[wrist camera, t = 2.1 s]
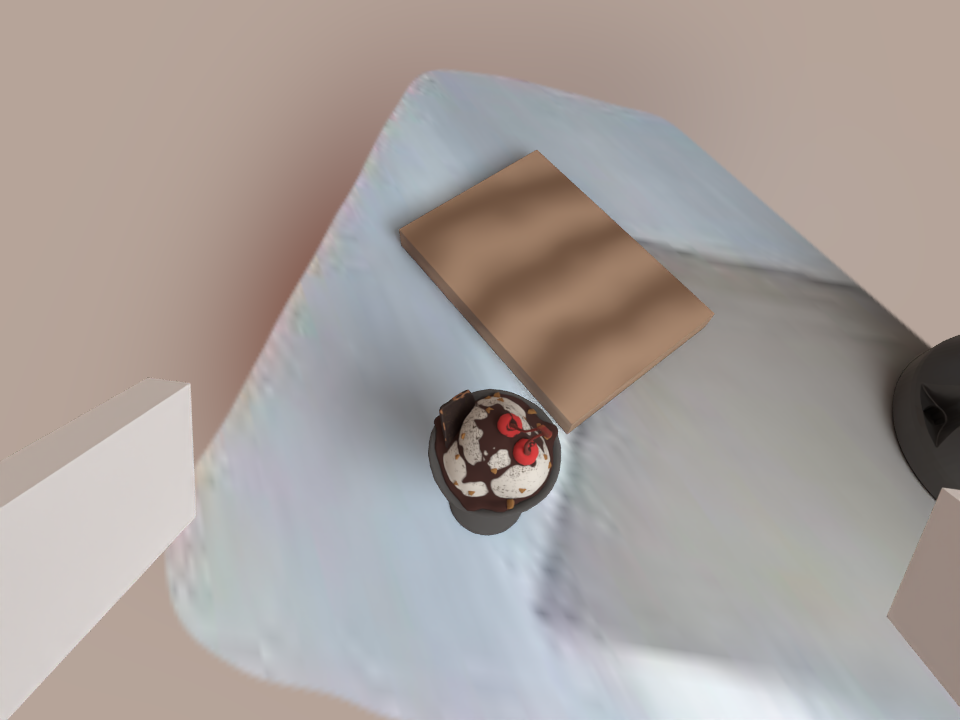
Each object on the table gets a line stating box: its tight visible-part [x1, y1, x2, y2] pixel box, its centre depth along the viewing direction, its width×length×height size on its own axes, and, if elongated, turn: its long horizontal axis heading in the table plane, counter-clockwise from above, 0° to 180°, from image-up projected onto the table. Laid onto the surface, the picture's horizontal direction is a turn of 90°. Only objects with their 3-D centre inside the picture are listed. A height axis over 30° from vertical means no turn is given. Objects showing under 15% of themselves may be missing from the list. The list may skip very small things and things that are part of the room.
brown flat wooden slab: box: [399, 150, 714, 434], centre depth 45 cm, size 20×14×2 cm
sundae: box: [428, 389, 561, 535], centre depth 32 cm, size 7×7×15 cm
